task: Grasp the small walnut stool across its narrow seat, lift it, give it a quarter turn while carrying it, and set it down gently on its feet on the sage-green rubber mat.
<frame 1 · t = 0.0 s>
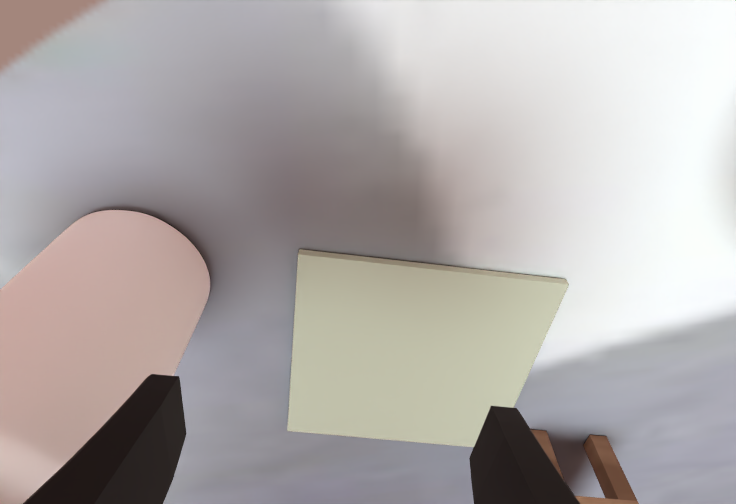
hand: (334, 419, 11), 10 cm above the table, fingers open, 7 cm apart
can: (142, 266, 21), on the table
mat: (410, 360, 24), on the table
stool: (547, 468, 29), on the table
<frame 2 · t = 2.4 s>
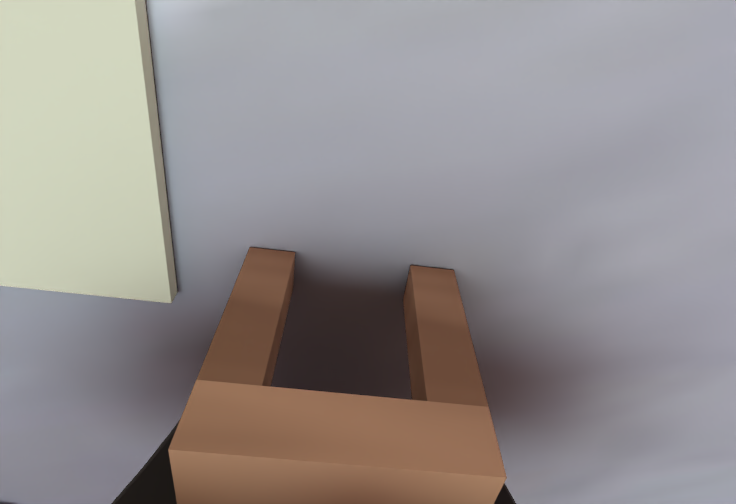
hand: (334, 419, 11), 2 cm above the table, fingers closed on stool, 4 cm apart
stool: (338, 368, 12), on the table, touching gripper
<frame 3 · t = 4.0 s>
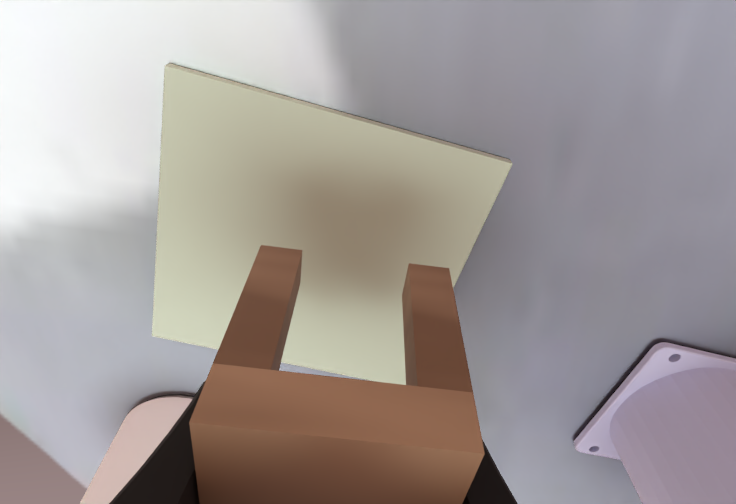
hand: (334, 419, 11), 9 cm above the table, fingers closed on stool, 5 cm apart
can: (189, 427, 26), on the table
mat: (311, 254, 19), on the table
stool: (341, 357, 13), point 7 cm above the table, touching gripper
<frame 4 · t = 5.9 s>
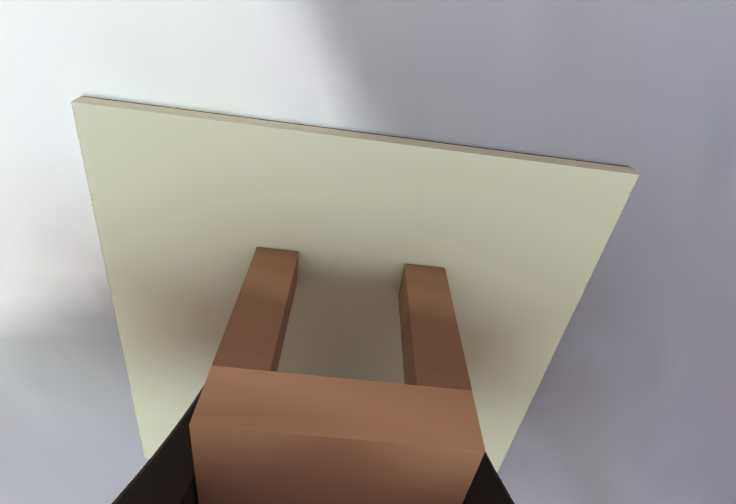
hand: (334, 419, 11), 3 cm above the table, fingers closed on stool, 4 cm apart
mat: (339, 336, 14), on the table
stool: (338, 359, 13), resting on mat, touching gripper
when the fingers open (3 cm above the table, at t = 6.1 s): stool stays where it is, resting on mat.
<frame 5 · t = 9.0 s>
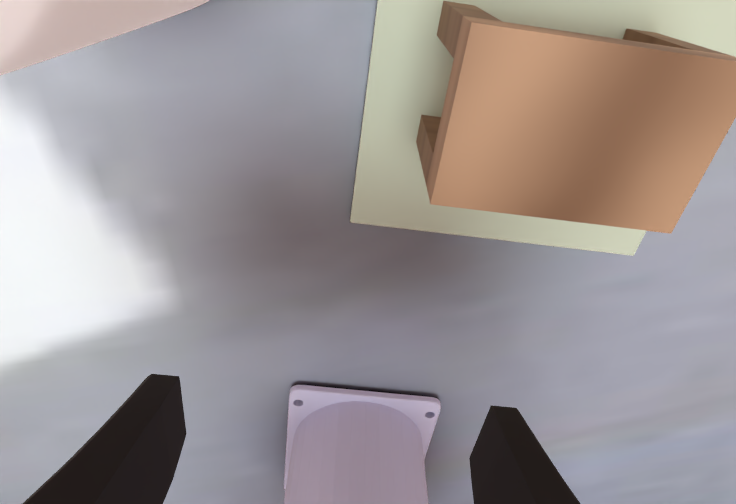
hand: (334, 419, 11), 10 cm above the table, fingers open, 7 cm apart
mat: (538, 88, 17), on the table
stool: (528, 90, 16), resting on mat
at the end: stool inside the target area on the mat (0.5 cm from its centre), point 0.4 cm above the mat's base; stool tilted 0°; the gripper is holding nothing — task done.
